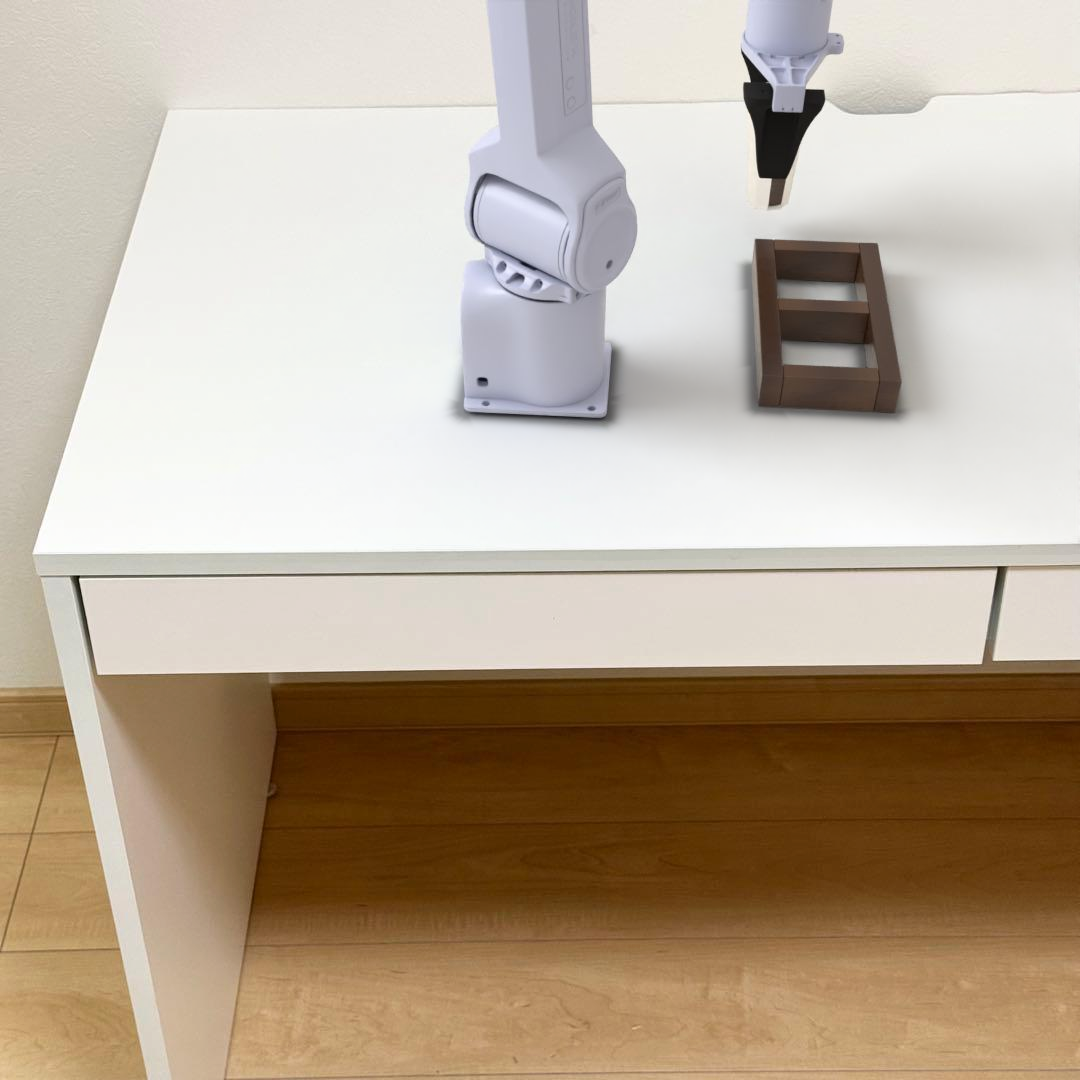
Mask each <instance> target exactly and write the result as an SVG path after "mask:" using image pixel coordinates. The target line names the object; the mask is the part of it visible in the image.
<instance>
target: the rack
mask: <svg viewBox="0 0 1080 1080" xmlns="http://www.w3.org/2000/svg"><path fill="white" fill-rule="evenodd" d="M753 241H754V242H753V250H752V260H751V267H750V269H751V288H752V289H751V291H752V309H753V312H752V313H753V328H754V329H753V330H754V351H755V370H756V390H757V406H758V407H765V408H787V409H790V408H791V409H807V410H810V409H811V410H831V411H832V410H833V411H852V412H853V411H854V412H874V413H891V414H892V413H896V410H897V404H898V400H899V396H900V391H901V387H902V382H903V381H902V376H901V371H900V370H901V369H900V364H899V358H898V353H897V352H898V351H897V346H896V340H895V336H894V329H893V323H892V317H891V311H890V306H889V300H888V293H887V289H886V283H885V278H884V271H883V266H882V260H881V254H880V248H879V243H878V242H857V241H853V242H852V241H831V240H829V241H828V240H806V239H805V240H803V239H801V240H800V239H777V238H775V239H773V238H754V240H753ZM777 280H789V281H791V280H792V281H815V282H842V283H854V285H855V292H856V299H857V300H855V301H854V300H833V299H813V298H812V299H810V298H809V299H808V298H788V297H787V298H785V297H779V293H778V282H777ZM782 341H798V342H799V341H800V342H803V341H804V342H824V343H847V344H848V343H849V344H863V347H864V353H865V361H866V367H855V366H829V365H810V364H809V365H807V364H785V363H783V350H782V349H783V348H782Z"/></svg>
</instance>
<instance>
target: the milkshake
mask: <svg viewBox="0 0 1080 1080" xmlns="http://www.w3.org/2000/svg"><path fill="white" fill-rule="evenodd" d="M767 83H769V82H767ZM746 115H747V118H746V119H747V121H746V122H747V123H746V124H747V125H746V126H747V127H746V128H747V164H746V193H745V194H746V203H747V204H748V205H749V206H751V207H752V208H754V209H756V210H760V211H761V210H762V211H764V212H772V211H780V210H782V209H783V208H784V207H786V206H788V205H789V202H790V197H791V193H792V188H793V185H794V180H795V174H796V169H797V165H798V161H799V156H800V151H801V148H802V144H803V143H802V142H803V140H802V141H801V144H800V146H799V149H798V152H797V155H796V158H795V160H794V163H793V166H792V168H791V171H790V173H789V175H788V177H787V178H786V179H767V178H759V175H758V171H757V163H756V145H755V132H754V127H753V123H752V119H751V117H750V114H749V112H748V110H747V113H746Z"/></svg>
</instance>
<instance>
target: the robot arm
mask: <svg viewBox="0 0 1080 1080" xmlns="http://www.w3.org/2000/svg"><path fill="white" fill-rule="evenodd" d="M485 2H486V12H487V13H486V14H487V22H488V32H489V39H490V40H489V41H490V51H491V52H490V53H491V61H492V62H491V63H492V70H493V72H492V73H493V82H494V90H495V101H496V108H497V109H496V110H497V121H498V125H496V126H494V127H493V128H491V129H490V130H488V132H486V133H484V135H482V136H481V138H479V140H477V142H476V143H475V144H474V145H473V146H472V148H471V149H470V150H469V151H468V153H467V156H468V157H467V158H468V164H469V165H468V166H469V177H468V179H469V180H468V186H467V189H466V193H465V199H464V207H463V217H464V223H465V227H466V231H467V232H468V235H470V237H471V238H472V239H473V240H474V241H476V242H477V243H479V244H481V245H483V247H484V248H483V249H484V258H481V259H471V260H467V261H466V263H465V265H464V269H463V274H462V281H461V292H460V293H461V294H460V338H461V359H462V371H463V373H462V374H463V388H464V398H463V409H464V410H465V411H466V412H469V413H486V414H487V413H488V414H490V413H491V414H511V415H514V414H515V415H529V416H532V415H533V416H552V417H553V416H554V417H555V416H556V417H575V418H576V417H577V418H596V419H597V418H598V419H599V418H604V417H606V416H607V413H608V401H609V389H610V377H611V376H610V374H611V361H612V348H613V346H612V343H610V342H609V341H605V337H606V311H607V310H606V309H607V307H606V306H607V286H609V285H610V284H612V283H613V282H614V281H616V279H617V278H618V277H619V276H620V274H621V273H622V272H623V271H624V270H625V268H626V266H627V265H628V263H629V261H630V259H631V257H632V255H633V251H634V249H635V245H636V242H637V236H638V214H637V209H636V206H635V204H634V202H633V201H632V199H631V197H630V195H629V192H628V189H627V170H626V168H625V167H624V165H623V164H622V162H621V161H620V160H619V158H618V156H617V155H616V154H615V153H614V152H613V150H612V149H611V148H610V146H609V145H608V144H607V143H606V141H605V140H604V138H603V137H602V136H601V135H600V133H599V132H598V131H597V129H596V128H595V126H594V118H593V117H594V115H593V95H592V93H593V92H592V72H591V71H592V70H591V69H592V68H591V50H590V49H591V48H590V47H591V46H590V27H589V0H485ZM833 2H834V0H747V12H746V21H745V29H744V31H742V34H741V42H740V53H741V56H742V58H743V62H744V64H745V67H746V69H747V73H748V76H749V80H750V81H744V82H743V84H742V94H743V95H742V96H743V101H744V104H745V108H746V109H747V110H748V112H749V114H750V117H751V119H752V123H753V127H754V132H755V145H756V163H757V171H758V175H759V178H767V179H786V178H787V177H788V175H789V173H790V171H791V168H792V166H793V163H794V160H795V158H796V155H797V152H798V149H799V146H800V144H801V145H802V143H801V141H802V142H803V138H804V137H805V135H806V132H808V131H807V130H808V129H809V127H810V126H811V125H812V123H813V121H814V120H815V118H816V117H817V116H818V115H819V114H820V113H821V112H822V110H823V108H824V107H825V104H826V93H825V89H819V88H816V89H815V88H807V85H808V84H809V82H810V80H811V79H812V78H813V76H814V74H815V73H816V71H817V70H818V69H819V67H820V66H821V64H822V63H823V62H824V61H825V59H826V57H827V56H831V55H833V56H834V55H835V56H836V55H841V54H843V52H844V49H845V40H844V35H842V34H841V33H839V32H829V30H830V22H831V15H832V8H833ZM767 82H769V83H767Z"/></svg>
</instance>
